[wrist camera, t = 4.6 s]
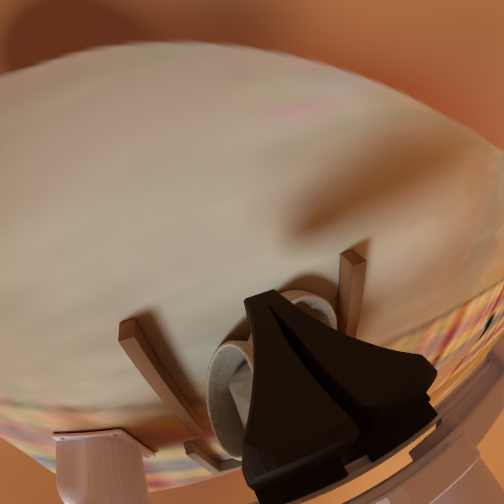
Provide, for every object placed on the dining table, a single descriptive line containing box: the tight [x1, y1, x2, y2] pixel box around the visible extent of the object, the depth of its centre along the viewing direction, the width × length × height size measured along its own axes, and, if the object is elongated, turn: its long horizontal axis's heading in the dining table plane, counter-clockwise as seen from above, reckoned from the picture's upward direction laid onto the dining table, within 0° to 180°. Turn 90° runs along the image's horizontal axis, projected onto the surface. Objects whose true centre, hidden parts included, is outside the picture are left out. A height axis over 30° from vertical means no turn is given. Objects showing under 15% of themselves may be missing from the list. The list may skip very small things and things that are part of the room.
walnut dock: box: [118, 250, 366, 436], centre depth 18 cm, size 15×14×2 cm
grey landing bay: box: [184, 441, 242, 475], centre depth 27 cm, size 20×12×2 cm, turn 98°
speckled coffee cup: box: [206, 290, 337, 461], centre depth 16 cm, size 11×8×8 cm
